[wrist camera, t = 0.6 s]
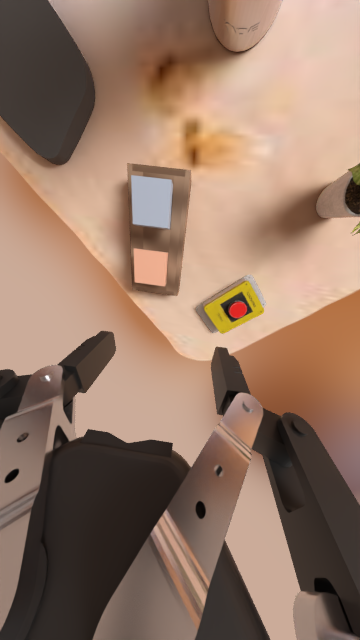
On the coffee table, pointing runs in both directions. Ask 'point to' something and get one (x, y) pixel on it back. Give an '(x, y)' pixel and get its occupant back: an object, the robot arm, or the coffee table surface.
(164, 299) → the coffee table surface
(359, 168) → the house plant
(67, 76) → the media streaming box
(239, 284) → the emergency button
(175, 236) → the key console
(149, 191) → the slate-blue key
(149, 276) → the terracotta key
